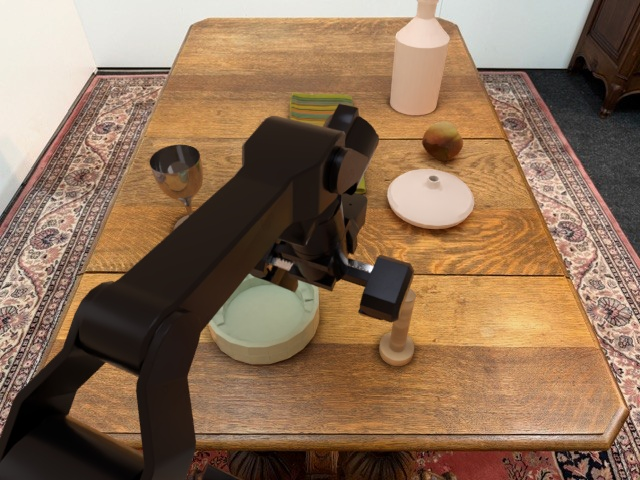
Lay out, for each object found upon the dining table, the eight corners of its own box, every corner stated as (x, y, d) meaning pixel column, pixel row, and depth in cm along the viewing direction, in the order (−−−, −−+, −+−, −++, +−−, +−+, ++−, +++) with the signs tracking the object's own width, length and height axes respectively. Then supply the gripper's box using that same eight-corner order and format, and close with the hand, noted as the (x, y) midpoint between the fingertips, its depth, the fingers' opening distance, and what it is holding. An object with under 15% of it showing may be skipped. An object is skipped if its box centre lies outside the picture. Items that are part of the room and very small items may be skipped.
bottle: (440, 116, 112) (462, 4, 94) (390, 115, 112) (402, 4, 94) (434, 91, 120) (452, -16, 102) (387, 91, 120) (397, -16, 103)
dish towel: (351, 102, 117) (352, 90, 114) (367, 194, 92) (368, 181, 89) (289, 104, 116) (288, 91, 114) (288, 197, 91) (287, 184, 89)
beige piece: (409, 370, 65) (423, 314, 56) (375, 361, 66) (383, 305, 57) (415, 341, 68) (429, 284, 59) (382, 333, 69) (391, 276, 60)
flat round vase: (378, 229, 85) (382, 199, 80) (392, 176, 95) (396, 147, 90) (468, 245, 82) (477, 214, 77) (472, 189, 92) (481, 159, 87)
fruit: (459, 170, 97) (467, 136, 91) (418, 165, 98) (424, 132, 92) (459, 149, 102) (466, 116, 96) (420, 145, 103) (425, 112, 98)
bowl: (298, 379, 64) (297, 360, 61) (191, 349, 68) (183, 329, 64) (332, 289, 75) (332, 268, 72) (238, 267, 79) (233, 246, 75)
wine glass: (207, 244, 83) (189, 175, 72) (164, 239, 84) (140, 171, 73) (221, 214, 88) (207, 146, 77) (181, 210, 89) (161, 142, 78)
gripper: (435, 190, 46) (423, 268, 59) (265, 147, 51) (288, 228, 64) (399, 287, 40) (394, 349, 54) (214, 228, 46) (251, 297, 59)
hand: (329, 300), depth 58 cm, fingers open, 9 cm apart
